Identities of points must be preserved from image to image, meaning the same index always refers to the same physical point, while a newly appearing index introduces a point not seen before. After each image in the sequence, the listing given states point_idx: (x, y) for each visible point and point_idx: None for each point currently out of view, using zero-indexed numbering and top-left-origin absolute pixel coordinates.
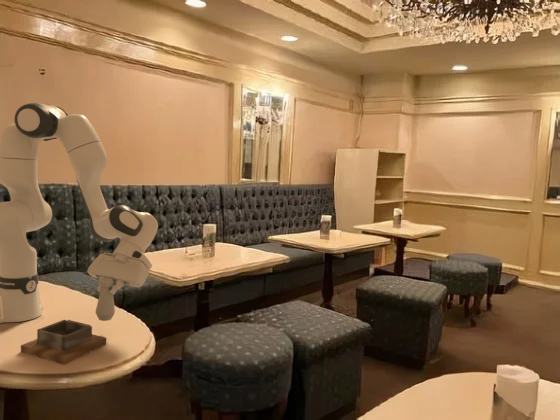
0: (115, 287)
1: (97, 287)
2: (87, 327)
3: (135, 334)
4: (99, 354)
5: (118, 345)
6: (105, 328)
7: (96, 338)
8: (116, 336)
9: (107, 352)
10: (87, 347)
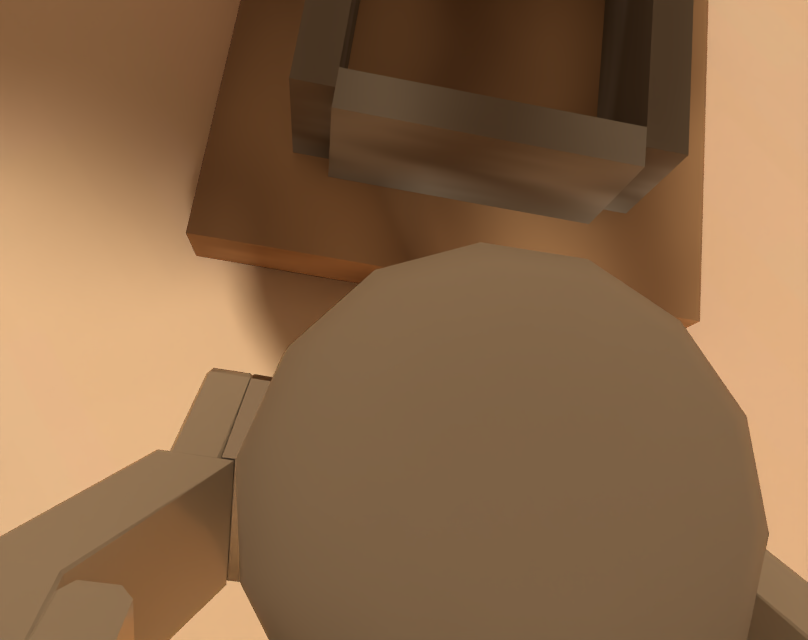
0: (130, 481)
1: None
2: (316, 41)
3: None
4: (139, 65)
5: (74, 271)
6: None
7: (268, 189)
8: None
9: (95, 114)
10: (237, 20)
